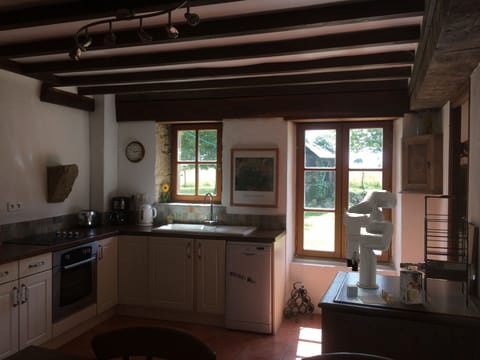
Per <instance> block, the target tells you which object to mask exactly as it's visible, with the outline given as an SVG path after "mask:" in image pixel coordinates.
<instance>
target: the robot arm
mask: <svg viewBox="0 0 480 360" xmlns="http://www.w3.org/2000/svg"><path fill="white" fill-rule="evenodd" d="M397 203H398V198H397V196H396V195H395V194H394V193H392V192H391V191H390V190H385V189H381V190H380V189H370V190H368V191H367V192H366V194H365V195H364V197H363V198H362V200H361V202H358V203H355V204H353V205H352V206H350V207H349V208H348V209H347V210H346V211H345V213H344V215H343V217H342V218H343V219H342V221H343V225H344V226H346V229H345V231H346V232H345V240H346V244H345V258H346V267H347V268H351V272H354V273H355V272H358V273H359V274H358V275H359V276H358V277H359V278H358V279H359V281H357V282H356V284H355V285H356V286H357V287H358V288H362V289H369V290H373V289H374V290H376V289H379V287H380V286H379V284H378V283H377V261H378V260H377V255H376V253H375V251H378V252H386V251H388V250H389V248H390V246H391V241H392V239H393V236H394V232H395V228H394V224H393V222H391V221H390V220H385V215H384V212H383V211H382V210H381V209H383V208H384V209H394V208H395V207H396V206H397V205H398V204H397ZM380 208H381V209H380ZM368 214H369V216H368ZM361 229H365V232H362V233H361V231H362V230H361Z"/></svg>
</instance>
